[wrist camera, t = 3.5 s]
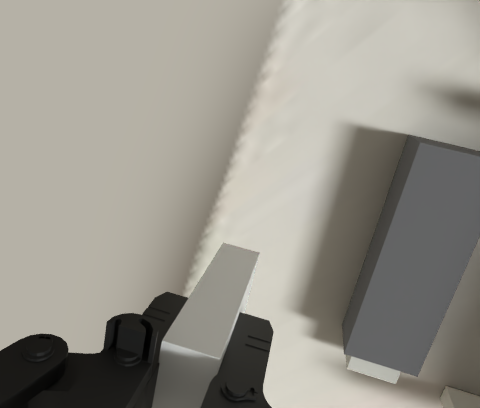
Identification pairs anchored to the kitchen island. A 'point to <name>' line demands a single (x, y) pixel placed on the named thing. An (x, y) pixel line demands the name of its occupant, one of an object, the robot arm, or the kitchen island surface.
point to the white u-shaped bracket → (459, 399)
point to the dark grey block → (414, 259)
